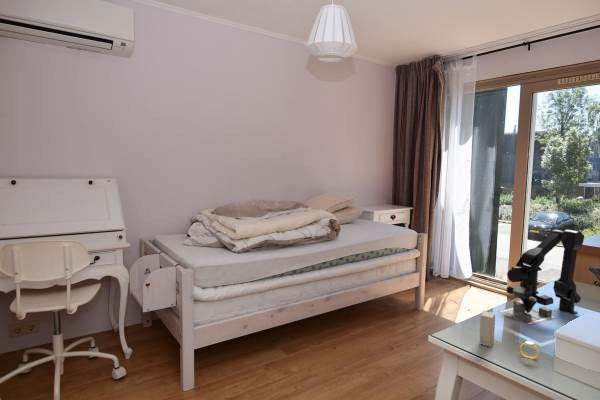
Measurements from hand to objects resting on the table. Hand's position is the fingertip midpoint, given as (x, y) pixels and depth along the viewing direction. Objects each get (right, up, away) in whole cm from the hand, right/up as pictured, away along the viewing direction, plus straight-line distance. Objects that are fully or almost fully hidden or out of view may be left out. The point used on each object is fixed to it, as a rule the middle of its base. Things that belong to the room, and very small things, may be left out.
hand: (527, 312), depth 171 cm
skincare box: (-31, -5, -23) cm, 39 cm away
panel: (0, -2, +1) cm, 2 cm away
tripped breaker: (-2, -1, +4) cm, 4 cm away
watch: (-21, -6, -34) cm, 41 cm away
